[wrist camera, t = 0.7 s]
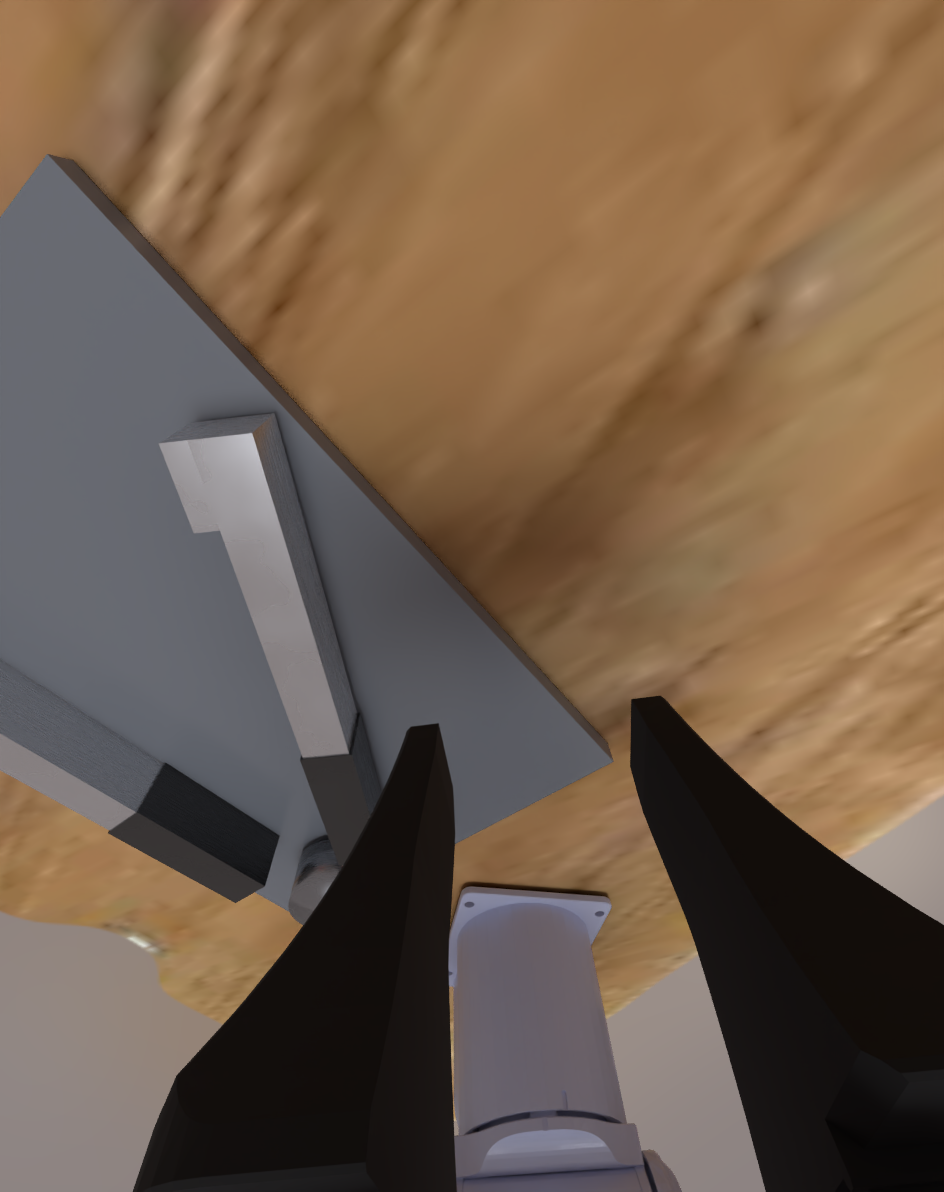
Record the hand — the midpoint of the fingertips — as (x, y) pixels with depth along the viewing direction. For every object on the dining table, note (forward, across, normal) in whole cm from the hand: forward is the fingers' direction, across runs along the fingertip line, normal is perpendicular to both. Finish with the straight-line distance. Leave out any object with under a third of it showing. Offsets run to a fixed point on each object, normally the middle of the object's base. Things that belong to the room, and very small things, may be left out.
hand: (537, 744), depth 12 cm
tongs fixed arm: (+7, +16, +4) cm, 18 cm away
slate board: (+8, +11, +3) cm, 14 cm away
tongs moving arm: (+7, +8, +5) cm, 12 cm away
